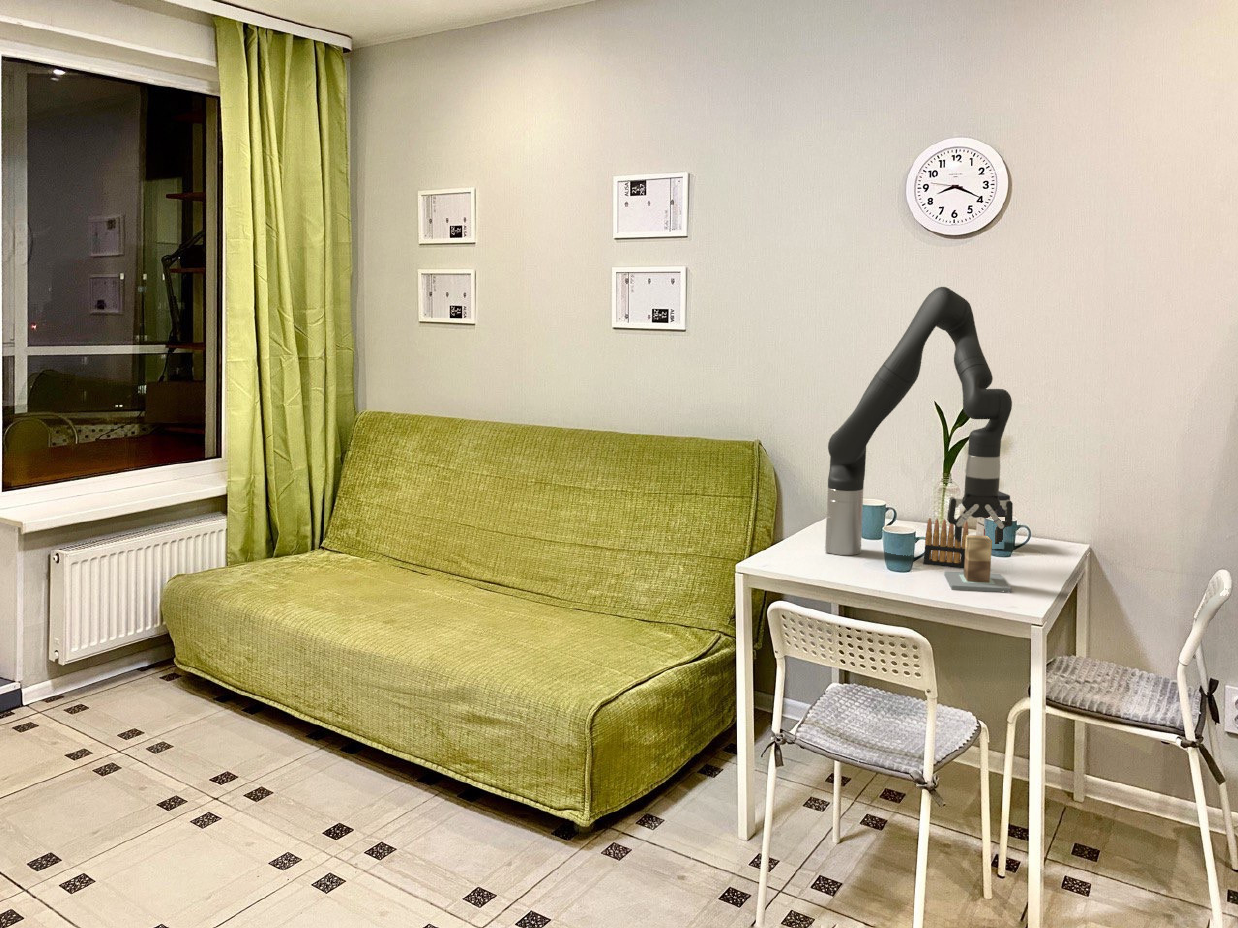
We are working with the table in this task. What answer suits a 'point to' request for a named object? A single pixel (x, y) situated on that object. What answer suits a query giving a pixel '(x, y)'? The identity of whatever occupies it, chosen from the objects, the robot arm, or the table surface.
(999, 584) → the baseplate
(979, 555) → the maple block
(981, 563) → the walnut block
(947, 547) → the ammunition clip
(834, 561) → the table surface
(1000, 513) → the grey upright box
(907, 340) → the robot arm
